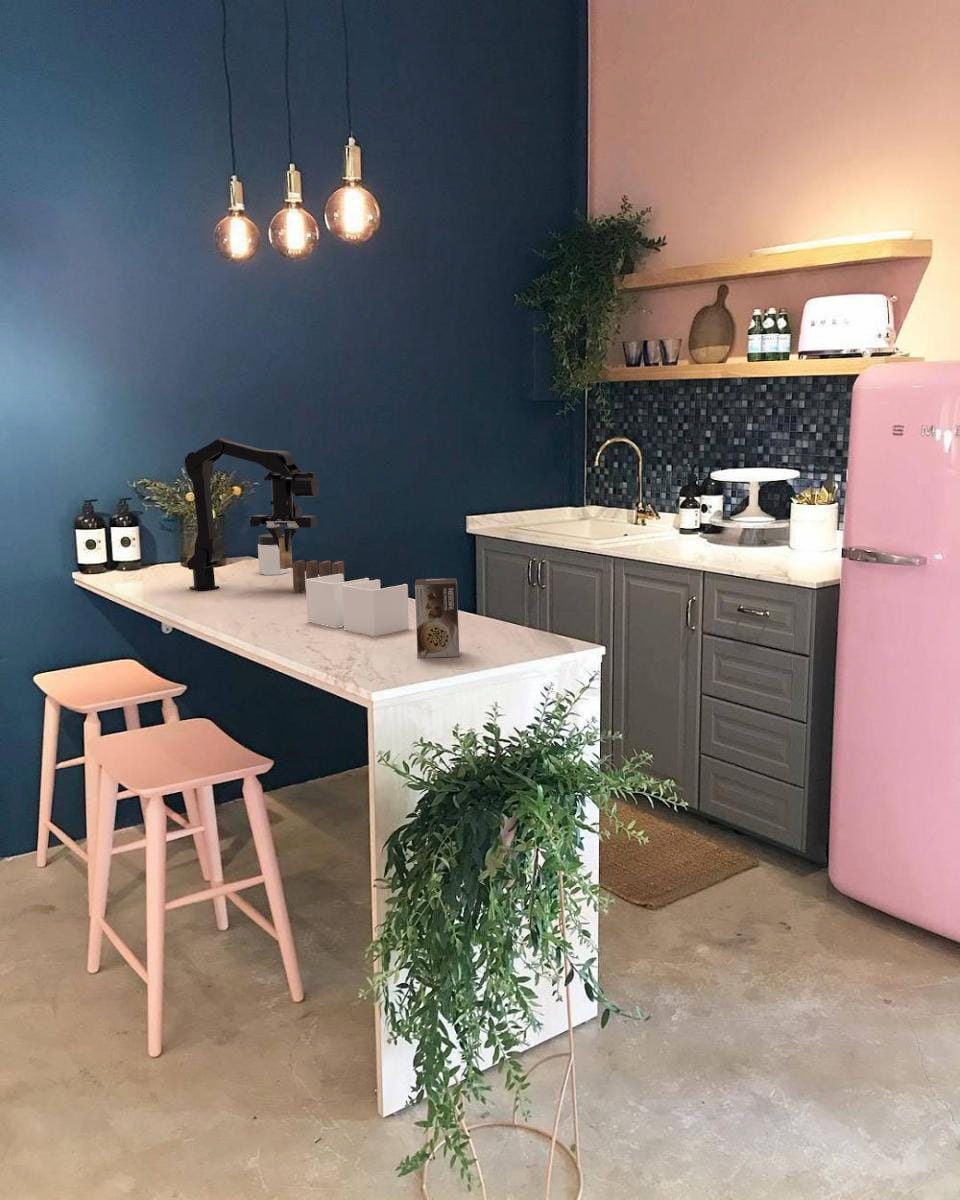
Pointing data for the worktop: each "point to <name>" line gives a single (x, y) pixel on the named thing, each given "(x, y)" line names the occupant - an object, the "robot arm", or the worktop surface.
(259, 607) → the worktop surface
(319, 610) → the white open box
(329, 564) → the domino
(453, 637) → the coffee box
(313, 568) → the domino
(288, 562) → the domino
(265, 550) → the jar
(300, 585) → the domino
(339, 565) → the domino
